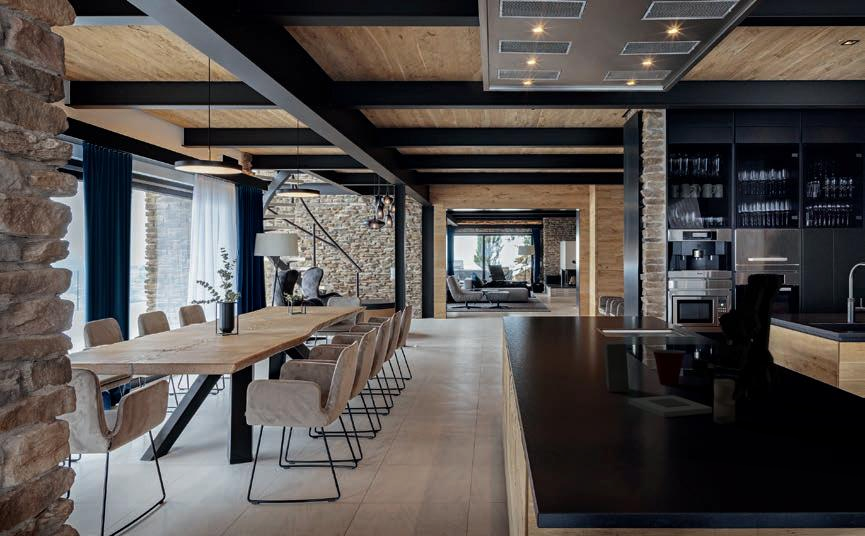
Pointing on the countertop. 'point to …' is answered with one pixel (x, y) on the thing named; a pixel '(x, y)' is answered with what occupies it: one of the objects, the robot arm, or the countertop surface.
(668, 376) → the plastic cup
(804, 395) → the countertop surface
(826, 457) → the countertop surface
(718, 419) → the ash sleeve
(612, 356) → the skincare box
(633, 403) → the sage board
